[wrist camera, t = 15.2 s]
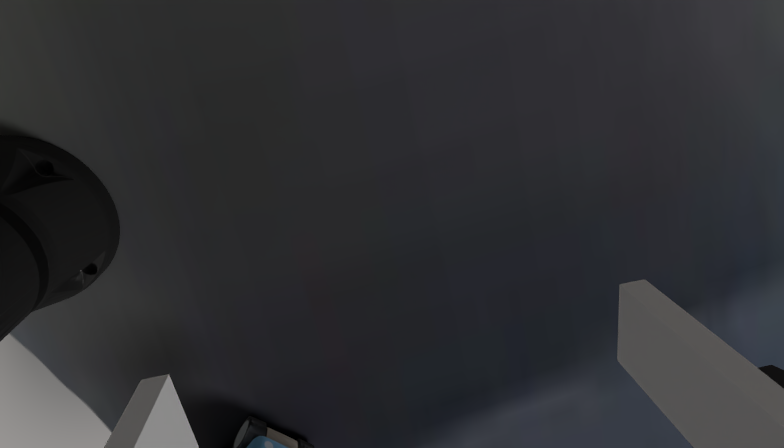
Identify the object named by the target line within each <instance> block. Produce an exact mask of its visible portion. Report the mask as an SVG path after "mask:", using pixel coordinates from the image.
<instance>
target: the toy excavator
mask: <svg viewBox="0 0 784 448" xmlns="http://www.w3.org/2000/svg"><path fill="white" fill-rule="evenodd" d="M266 426H267V424H266V422H263V421H261V420H259V419H256V418H254V417H251V416H250V417H248V418H247V419H246V420H245V422H244V423H243V425H242V427H240V429H239V432H238V434H237V435H236V437H235V440H234V443H233V448H314V446H313V445H312V444H310V443H308V442H305V441H303V440H301V439H297V440H294V439H292V438H290V437H288V436H286V435H284V434H282V433H280V432H277V431H275V430H273V429H270V428H268V427H266Z"/></svg>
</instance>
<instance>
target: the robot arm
mask: <svg viewBox="0 0 784 448" xmlns="http://www.w3.org/2000/svg"><path fill="white" fill-rule="evenodd" d="M119 235H120V226H119V219H118V214H117V211H116V208H115V205H114V202H113V200H112V198H111V196H110V194H109V193H108V191H107V189H106V188H105V186H104V185H103V184H102V182H101V181H100V180H99V179H98V177H97V176H96V175H95V174H94V173H93V172H92V171H91V170H90V169H89V168H88V167H87V166H86V165H84V164H83V163H82V162H81V161H79V160H78V159H76V158H75V157H74V156H72V155H70V154H69V153H67V152H65V151H63V150H62V149H60V148H57V147H55V146H53V145H51V144H48V143H45V142H42V141H39V140H35V139H31V138H26V137H19V136H0V341H1V340H2V339H3V338H4V337H5V336H7V335H8V334H9V333H10V332H11V331H12V330H13V329H14V328H15V327H16V326H17V325H18V324H19V323H20V322H21V321H22V320H24V319H25V317H26V316H28V315H29V314H30V313H31V312H33V311H35V310H38V309H41V308H44V307H46V306H49V305H52V304H54V303H57V302H60V301H63V300H65V299H68V298H70V297H72V296H74V295H76V294H78V293H80V292H81V291H83V290H84V289H86V288H87V287H88V286H90V285H91V284H92V283H93V282H94V281H95V280H96V279H97V278H98V277H99V276H100V275H101V274H102V273H103V272H104V271H105V269H106V268H107V267H108V266H109V264H110V263H111V261H112V260H113V258H114V255H115V253H116V250H117V247H118V243H119ZM617 361H618V362H619V363H620V364H621V365H622V366H623V367H624V369H625V370H626V371H627V372H628V373H629V374H630V375H631V377H632V378H633V379H634V380H635V381H636V382H637V383H638V385H639V386H640V387H641V388H642V389H643V390H644V391H645V393H646V394H647V395H648V396H649V397H650V398H651V399H652V401H653V402H654V403H655V404H656V405H657V406H658V407H659V409H660V410H661V411H662V412H663V413H664V414H665V415H666V417H667V418H668V419H669V420H670V421H671V422H672V423H673V425H674V426H675V427H676V428H677V429H678V430H679V431H680V433H681V434H682V435H683V436H684V437H685V438H686V439H687V441H688V442H689V443H690V444H691V445H692V446H693V447H694V448H784V370H782V369H780V368H778V367H775V366H773V365H769V366H764V367H759V368H757V367H756V366H754V365H753V364H752V363H750V362H749V361H748V360H747V359H745V358H744V357H743V356H742V355H740V354H739V353H738V352H736V351H735V350H734V349H733V348H731V347H730V346H729V345H728V344H726V343H725V342H724V341H722V340H721V339H720V338H719V337H717V336H716V335H715V334H714V333H712V332H711V331H710V330H708V329H707V328H706V327H705V326H703V325H702V324H701V323H700V322H698V321H697V320H696V319H694V318H693V317H692V316H691V315H689V314H688V313H687V312H686V311H684V310H683V309H682V308H680V307H679V306H678V305H677V304H675V303H674V302H673V301H672V300H670V299H669V298H668V297H666V296H665V295H664V294H663V293H661V292H660V291H659V290H658V289H656V288H655V287H654V286H652V285H651V284H650V283H649V282H647V281H646V280H645V279H644V280H639V281H634V282H629V283H624V284H620V291H619V322H618V354H617ZM104 448H199V446H198V444H197V441H196V439H195V436H194V434H193V432H192V429H191V427H190V424H189V422H188V419H187V417H186V415H185V412H184V410H183V407H182V405H181V402H180V400H179V398H178V395H177V393H176V390H175V388H174V385H173V383H172V381H171V378H170V376H169V374H168V375H163V376H158V377H153V378H148V379H143V380H141V381H140V383H139V385H138V387H137V388H136V390H135V392H134V394H133V396H132V397H131V399H130V401H129V403H128V405H127V407H126V408H125V410H124V412H123V414H122V416H121V418H120V419H119V421H118V423H117V425H116V427H115V429H114V430H113V432H112V434H111V436H110V438H109V440H108V441H107V444H106V445H105V447H104Z"/></svg>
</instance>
